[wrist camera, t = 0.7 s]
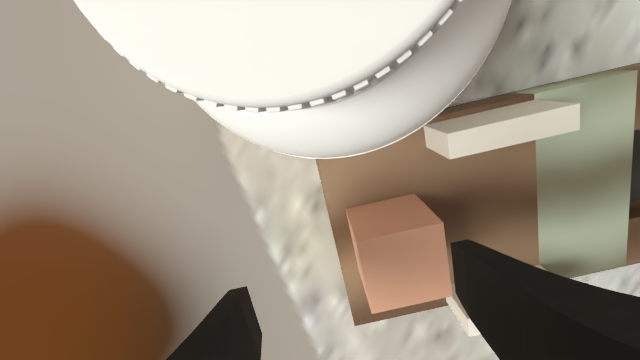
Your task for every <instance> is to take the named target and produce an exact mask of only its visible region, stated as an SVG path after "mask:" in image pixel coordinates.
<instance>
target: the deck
mask: <svg viewBox="0 0 640 360" xmlns="http://www.w3.org/2000/svg"><path fill="white" fill-rule="evenodd" d="M531 100H545V101H557V102H570V103H580V130H577V131H572V132H568V133H564V134H559V135H555V136H551V137H546V138H542V139H538V140H533V141H529V142H524V143H520V144H516V145H511V146H507V147H503V148H498V149H494V150H490V151H485V152H481V153H477V154H472V155H468V156H463V157H459V158H455V159H448V158H446V157H444V156H442V155H440V154H438V153H437V152H435V151H433V150H431V149H429V148H427V147H426V141H425V133H424V126H423V127H421V128H420V129H418V130H417V131H415V132H413V133H412V134H410V135H408V136H406V137H405V138H403V139H401V140H399V141H397V142H395V143H392V144H390V145H388V146H385V147H383V148H380V149H377V150H374V151H371V152H368V153H364V154H360V155H355V156H350V157H343V158H332V159H316V163H317V167H318V171H319V175H320V180H321V184H322V188H323V192H324V197H325V201H326V205H327V209H328V214H329V218H330V222H331V226H332V231H333V235H334V239H335V243H336V248H337V252H338V256H339V260H340V265H341V269H342V273H343V278H344V282H345V286H346V290H347V295H348V299H349V303H350V307H351V312H352V316H353V320H354V324H355V326H357V325H362V324H366V323H371V322H375V321H380V320H384V319H389V318H393V317H398V316H402V315H407V314H411V313H416V312H420V311H425V310H429V309H434V308H438V307H443V306H447V305H448V303H447V302H446V298H442V299H438V300H433V301H429V302H424V303H420V304H415V305H411V306H406V307H402V308H397V309H393V310H388V311H384V312H379V313H375V314H372V313H371V309H370V306H369V303H368V299H367V296H366V293H365V289H364V286H363V282H362V279H361V276H360V272H359V269H358V264H357V260H356V255H355V250H354V246H353V241H352V237H351V232H350V227H349V223H348V218H347V214H346V209H349V208H353V207H357V206H362V205H366V204H370V203H375V202H379V201H384V200H388V199H392V198H397V197H401V196H406V195H410V194H414V193H415V194H416V195H417V196H418V197H419V198H420V199H421V200H422V201H423V202H424V203H425V204H426V206H427V207H428V208H429V209H430V210H431V211H432V212H433V213H434V214H435V215H436V216H437V217H438V218H439V219H440V220H441V221H442V222H443V223H444V231H445V240H446V248H447V256H448V264H449V272H450V280H451V284H455V283H454V274H453V264H452V254H451V244H450V243H452V242H457V241H462V240H467V239H469V240H472V241H474V242H477V243H479V244H482V245H484V246H487V247H489V248H491V249H494V250H496V251H498V252H501V253H503V254H505V255H508V256H510V257H513V258H515V259H517V260H520V261H522V262H525V263H527V264H530V265H533V266H535V265H540V266H542V267H543V268H544V269H546V270H547V271H549V272H552V273H555V274H557V275H560V276H563V277H566V278H573V277H578V276H582V275H587V274H591V273H596V272H600V271H605V270H609V269H614V268H618V267H623V266H627V265H632V264H636V263H640V63H637V64H633V65H629V66H624V67H620V68H616V69H611V70H607V71H603V72H598V73H594V74H590V75H585V76H581V77H577V78H573V79H568V80H564V81H560V82H555V83H551V84H547V85H542V86H538V87H534V88H529V89H525V90H521V91H517V92H512V93H508V94H504V95H499V96H495V97H491V98H486V99H482V100H478V101H474V102H469V103H465V104H461V105H456V106H452V107H448V108H445V109H444V110H443V111H442V112H441V113H440V114H438V115H437V116H436V117H435V118H434V119H432V120H431V121H430V122H428V123H427V124H432V123H436V122H440V121H445V120H449V119H453V118H458V117H462V116H466V115H471V114H475V113H479V112H483V111H488V110H492V109H496V108H501V107H505V106H509V105H514V104H518V103H522V102H527V101H531ZM427 124H426V125H427Z"/></svg>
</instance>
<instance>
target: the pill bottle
mask: <svg viewBox="0 0 640 360" xmlns="http://www.w3.org/2000/svg"><path fill="white" fill-rule="evenodd" d="M74 1H75V3H76V4H77V6H78V7H79V9H80V10H81V11H82V13H83V14H84V15H85V16H86V18H87V19H88V20H89V21H90V23H91V24H92V25H93V26H94V27H95V28H96V29H97V31H98V32H99V33H100V34H101V36H102V37H103V38H104V39H105V40H107V41H108V42H109V43H110V44H111V45H112V46H113V48H114V49H115V50H116V51H117V52H118V53H119V54H120V55H121V56H123V57H126V58H127V59H128V60H129V63H130V64H132V65H133V66H134V67H135V68H137V69H138V70H140V71H144V72H146V73H147V76H148V77H149V78H151V79H152V80H154V81H156V82H157V83H164V84H165V87H166V88H168V89H170V90H172V91H174V92H176V93H184V96H185V97H187V98H189V99H192V100H194V101H195V102H196V103H197V104H198V105H199V106H200V107H201V108H202V109H203V110H204V111H206V112H207V113H208V114H209V115H210V116H211V117H212V118H213V119H215V120H216V121H217V122H219V123H220V124H221V125H223V126H224V127H225V128H227V129H228V130H230V131H231V132H233V133H235V134H236V135H238V136H240V137H242V138H244V139H246V140H248V141H250V142H252V143H254V144H256V145H259V146H261V147H264V148H266V149H269V150H272V151H275V152H278V153H282V154H286V155H290V156H296V157H302V158H313V159H332V158H343V157H350V156H355V155H360V154H364V153H368V152H371V151H374V150H377V149H380V148H383V147H385V146H388V145H390V144H392V143H395V142H397V141H399V140H401V139H403V138H405V137H406V136H408V135H410V134H412V133H413V132H415V131H417V130H418V129H420V128H421V127H423V126H424V125H426V124H427V123H428V122H430V121H431V120H432V119H434V118H435V117H436V116H437V115H438V114H440V113H441V112H442V111H443V110H444V109H445V108H446V107H447V106H449V105H450V104H451V103H452V102H453V101H454V100H455V99H456V98H457V96H458V95H459V94H460V93H461V92H462V91H463V90H464V89H465V87H466V86H467V85H468V84H469V83H470V81H471V80H472V79H473V77H474V76H475V75H476V73H477V72H478V70H479V69H480V67H481V66H482V64H483V63H484V61H485V60H486V58H487V56H488V55H489V53H490V51H491V50H492V48H493V46H494V44H495V42H496V40H497V38H498V36H499V34H500V32H501V29H502V27H503V25H504V22H505V20H506V17H507V15H508V12H509V9H510V6H511V3H512V0H74Z"/></svg>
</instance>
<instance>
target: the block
mask: <svg viewBox="0 0 640 360" xmlns="http://www.w3.org/2000/svg"><path fill="white" fill-rule="evenodd" d="M346 214H347V218H348V223H349V227H350V232H351V237H352V241H353V246H354V250H355V255H356V260H357V264H358V269H359V272H360V276H361V279H362V282H363V286H364V289H365V293H366V296H367V299H368V303H369V306H370V309H371V313H372V314H375V313H379V312H384V311H388V310H393V309H397V308H402V307H406V306H411V305H415V304H420V303H424V302H429V301H433V300H438V299H442V298H447V297H451V296H452V288H451V280H450V272H449V264H448V256H447V248H446V240H445V231H444V223H443V222H442V221H441V220H440V219H439V218H438V217H437V216H436V215H435V214H434V213H433V212H432V211H431V210H430V209H429V208H428V207H427V206H426V204H425V203H424V202H423V201H422V200H421V199H420V198H419V197H418V196H417V195H416V194H415V193H414V194H410V195H406V196H401V197H397V198H392V199H388V200H384V201H379V202H375V203H370V204H366V205H362V206H357V207H353V208H349V209H346Z"/></svg>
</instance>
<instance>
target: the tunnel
mask: <svg viewBox="0 0 640 360" xmlns="http://www.w3.org/2000/svg"><path fill="white" fill-rule="evenodd" d="M577 130H580V103H570V102H557V101H545V100H531V101H527V102H522V103H518V104H514V105H509V106H505V107H501V108H496V109H492V110H488V111H483V112H479V113H475V114H471V115H466V116H462V117H458V118H453V119H449V120H445V121H440V122H436V123H432V124H427V125H424V133H425V141H426V147H427V148H429V149H431V150H433V151H435V152H437V153H438V154H440V155H442V156H444V157H446V158H448V159H455V158H459V157H463V156H468V155H472V154H477V153H481V152H485V151H490V150H494V149H498V148H503V147H507V146H511V145H516V144H520V143H524V142H529V141H533V140H538V139H542V138H546V137H551V136H555V135H559V134H564V133H568V132H572V131H577ZM535 267H538V268H540V269H543V270H546V269H544V268H543V267H542V266H540V265H535ZM546 271H547V270H546ZM451 288H452V296H451V297H447V298H446V302H447V303H448V305H449V306H450V308H451V309H452V311H453V313H454V314H455V316H456V317H457V319H458V320H459V322H460V323H461V325H462V326H463V328H464V329H465V331H466V332H467V334H468V336H469V337H471V336H476V335H480V334H481V333H480V332H479V331H478V329H477V328H476V327H475V325H474V324H473V322H472V321H471V320H470V318H469V316H468V315H467V313H466V311H465V309H464V308H463V306H462V304H461V302H460V300H459V298H458V297H457V295H456V293H455V284H451Z"/></svg>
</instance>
